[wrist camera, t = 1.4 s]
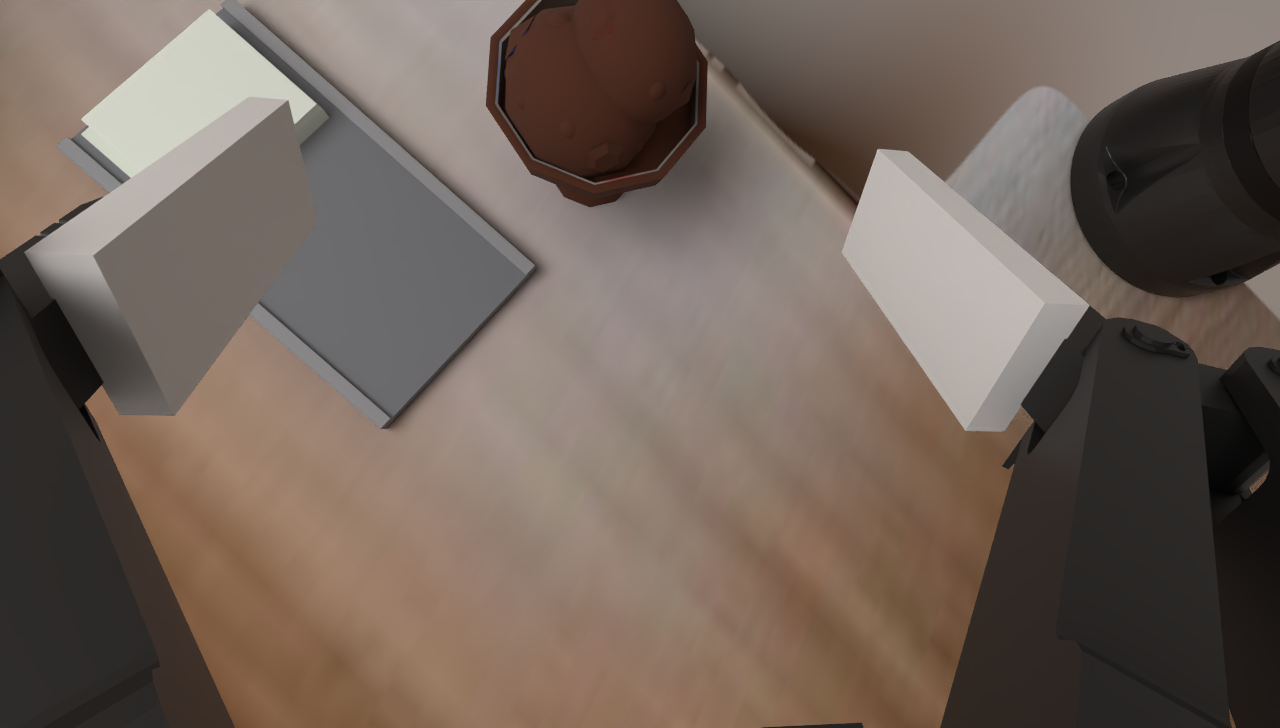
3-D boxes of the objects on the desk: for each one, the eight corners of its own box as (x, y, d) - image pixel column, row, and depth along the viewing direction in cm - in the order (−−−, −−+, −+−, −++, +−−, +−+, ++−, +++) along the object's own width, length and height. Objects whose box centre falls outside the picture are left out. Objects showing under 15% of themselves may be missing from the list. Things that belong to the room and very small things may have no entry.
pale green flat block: (329, 117, 36) (317, 102, 35) (202, 236, 35) (183, 226, 33) (227, 27, 36) (210, 7, 34) (94, 142, 35) (70, 128, 33)
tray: (535, 270, 38) (534, 265, 37) (385, 428, 36) (380, 428, 35) (240, 8, 37) (230, -5, 36) (71, 155, 35) (55, 146, 34)
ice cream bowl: (612, 54, 40) (640, -166, 25) (707, 195, 40) (791, 58, 25) (472, 132, 38) (411, -54, 23) (569, 280, 38) (571, 188, 23)
